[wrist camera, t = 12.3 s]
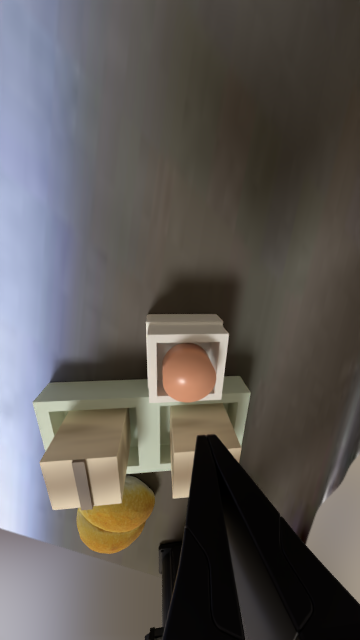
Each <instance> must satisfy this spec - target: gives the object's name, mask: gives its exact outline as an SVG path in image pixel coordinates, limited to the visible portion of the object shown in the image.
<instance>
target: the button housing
mask: <svg viewBox="0 0 360 640" xmlns="http://www.w3.org/2000/svg"><path fill="white" fill-rule="evenodd" d="M146 338H147V373H148V388H149V403H164V402H180V401H177V400H174V399H173V398H171V397H170V396H169V395H168V394H167V393H166V391H165V390H164V387H163V374H162V362H163V358H164V356H165V354H166V353H167V352H168V351H169V350H170V349H171V348H172V347H174V346H176V345H178V344H182V343H193V344H196V345H199V346H200V347H202V348H203V349H204V350H205V351H206V353H207V354H208V357H209V359H210V361H211V363H212V365H213V367H214V369H215V372H216V383H215V386H214V388H213V390H212V391H211V392H210V393H209V394H208V395H207V396H206V397H204V398H203V399H201V400H198V401H205V400H221V398H222V389H223V381H224V372H225V364H226V355H227V347H228V338H229V333H228V332H227V331H226V330H225V329H224V327H223V321H222V320H221V319H220V317H219V316H218V315H217V314H147V320H146Z"/></svg>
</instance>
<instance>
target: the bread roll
mask: <svg viewBox="0 0 360 640" xmlns="http://www.w3.org/2000/svg"><path fill="white" fill-rule="evenodd" d="M154 504H155V497H154V493H153V491H152V490H151V489H150V488H149V487H148V486H147V485H146V484H145V483H143V482H142V481H141V480H139V479H138V478H136V477H133V476H128V475H126V477H125V484H124V491H123V497H122V503H120V504H110V505H100V506H93V509H91V510H81V507H79V508H78V511H77V527H78V531H79V534H80V538H81V540H82V541H83V542H84V543H85V544H86V545H87V546H88V547H89V548H90V549H91V550H93V551H96V552H99V553H108V554H110V553H116V552H118V551H121V550H123V549H124V548H126V547H128V546H129V545H130V544H131V543H132V542H133V541H134V540H136V539H137V537H138V536H139V535H140V534H141V532H142V530H143V528H144V525H145V522H146V520H147V519H148V517H149V516H150V514H151V512H152V510H153V507H154Z"/></svg>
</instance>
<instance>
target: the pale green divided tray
mask: <svg viewBox="0 0 360 640" xmlns="http://www.w3.org/2000/svg"><path fill="white" fill-rule="evenodd" d="M250 393H251V392H250V391H249V389H248V388H247V386H246V385H245V383H244V382H243V380H242V378H241V377H240V376H224V381H223V389H222V398H221V400H205V401H195V402H164V403H149V388H148V379H137V380H109V381H81V382H53V383H49V384H48V385H47V386H46V387H45V388H44V389H43V391H42V392H41V393H40V394H39V395H38V397H37V398H36V399H35V400H34V401H33V406H34V410H35V413H36V417H37V421H38V425H39V429H40V433H41V436H42V440H43V444H44V448H45V452H46V450H47V448H48V447H49V445H50V443H51V441H52V440H53V438H54V436H55V434H56V433H57V431H58V429H59V427H60V426H61V424H62V422H63V420H64V419H65V417H66V415H67V413H68V412H69V411H73V410H93V409H113V408H129V415H130V430H131V444H130V451H129V457H128V464H127V471H126V474H133V473H145V472H157V471H169V470H171V455H170V406H173V405H193V404H213V403H223V405H224V407H225V410H226V412H227V414H228V417H229V419H230V422H231V424H232V426H233V429H234V431H235V433H236V436H237V438H238V441H239V443H240V445H242V439H243V434H244V428H245V422H246V416H247V411H248V405H249V399H250Z"/></svg>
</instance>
